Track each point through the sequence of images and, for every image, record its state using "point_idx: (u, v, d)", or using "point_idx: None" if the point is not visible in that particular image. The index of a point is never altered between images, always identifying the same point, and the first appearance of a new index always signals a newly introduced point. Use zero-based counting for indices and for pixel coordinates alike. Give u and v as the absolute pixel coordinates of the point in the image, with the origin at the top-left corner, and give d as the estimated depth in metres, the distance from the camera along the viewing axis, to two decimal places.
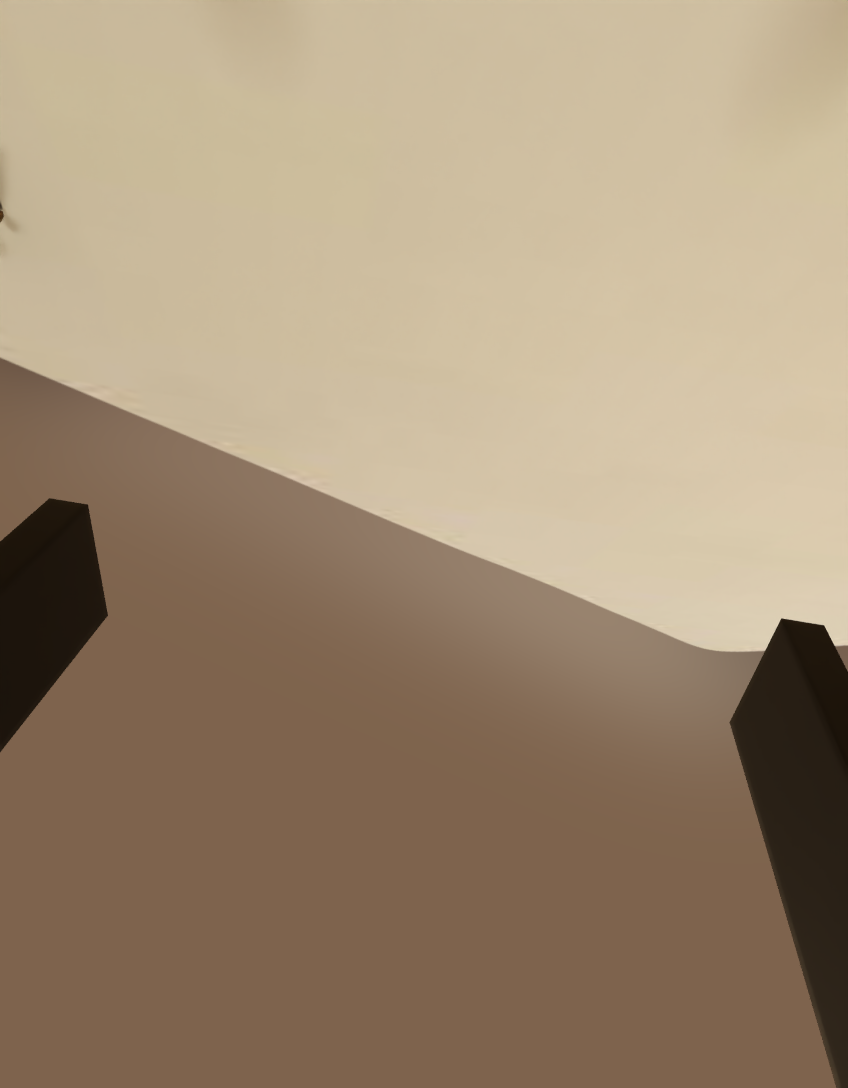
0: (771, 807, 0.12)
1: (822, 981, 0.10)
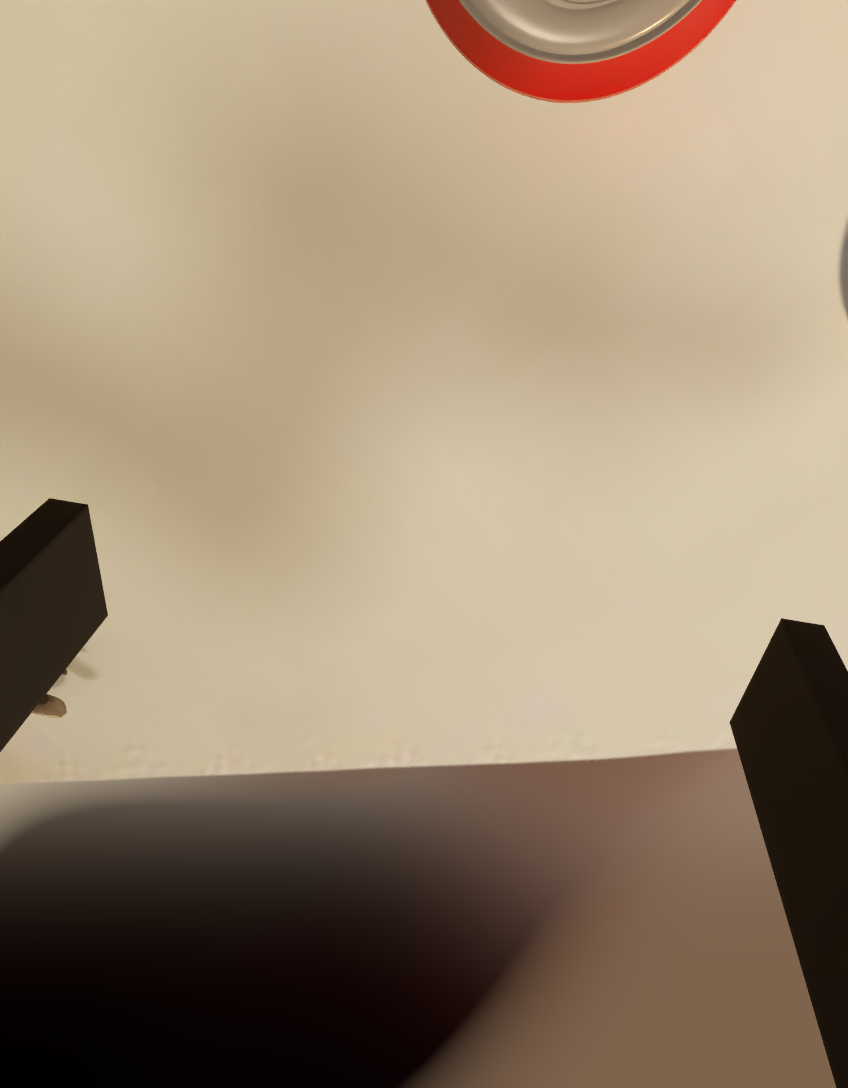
0: (771, 807, 0.12)
1: (822, 981, 0.10)
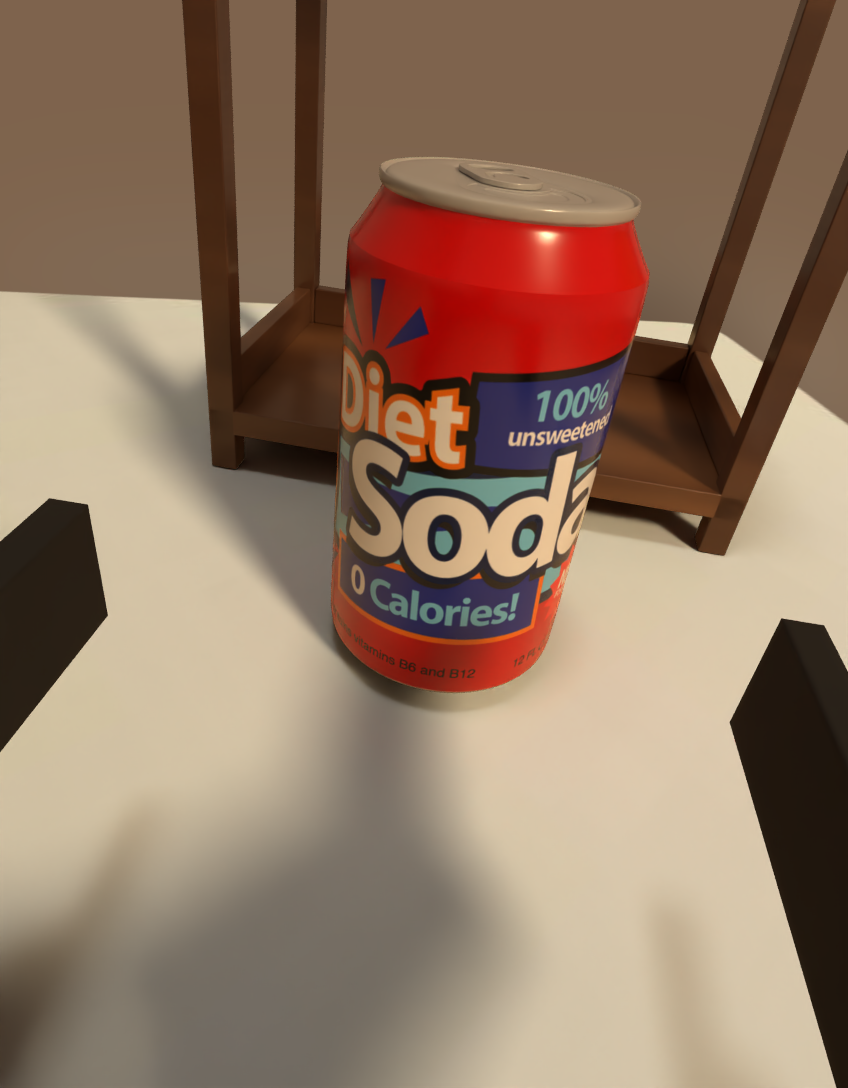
0: (772, 807, 0.12)
1: (822, 981, 0.10)
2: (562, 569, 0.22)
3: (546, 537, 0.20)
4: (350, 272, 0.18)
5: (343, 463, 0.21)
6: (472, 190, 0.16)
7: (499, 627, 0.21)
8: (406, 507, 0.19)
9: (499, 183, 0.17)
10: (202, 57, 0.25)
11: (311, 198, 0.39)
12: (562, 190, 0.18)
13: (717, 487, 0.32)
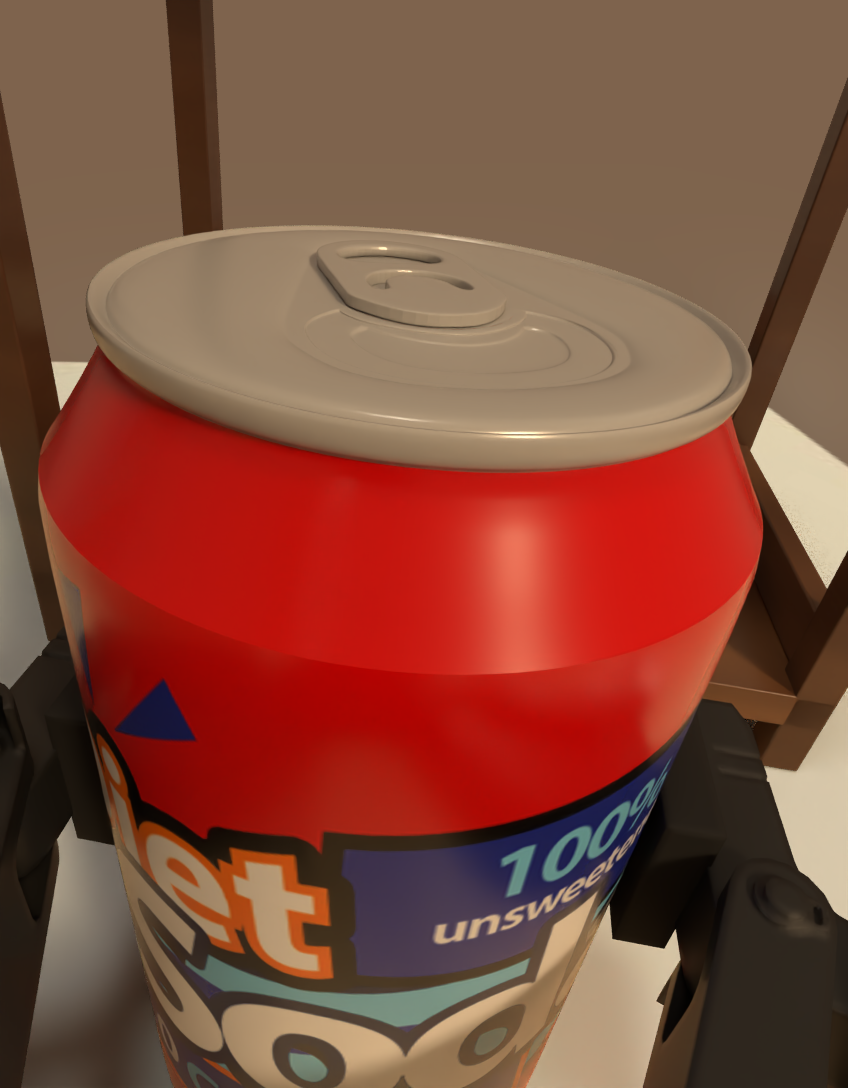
0: None
1: None
2: None
3: (532, 1016, 0.10)
4: None
5: None
6: (308, 348, 0.06)
7: None
8: (220, 1004, 0.09)
9: (393, 313, 0.07)
10: None
11: None
12: (552, 315, 0.08)
13: (787, 679, 0.21)
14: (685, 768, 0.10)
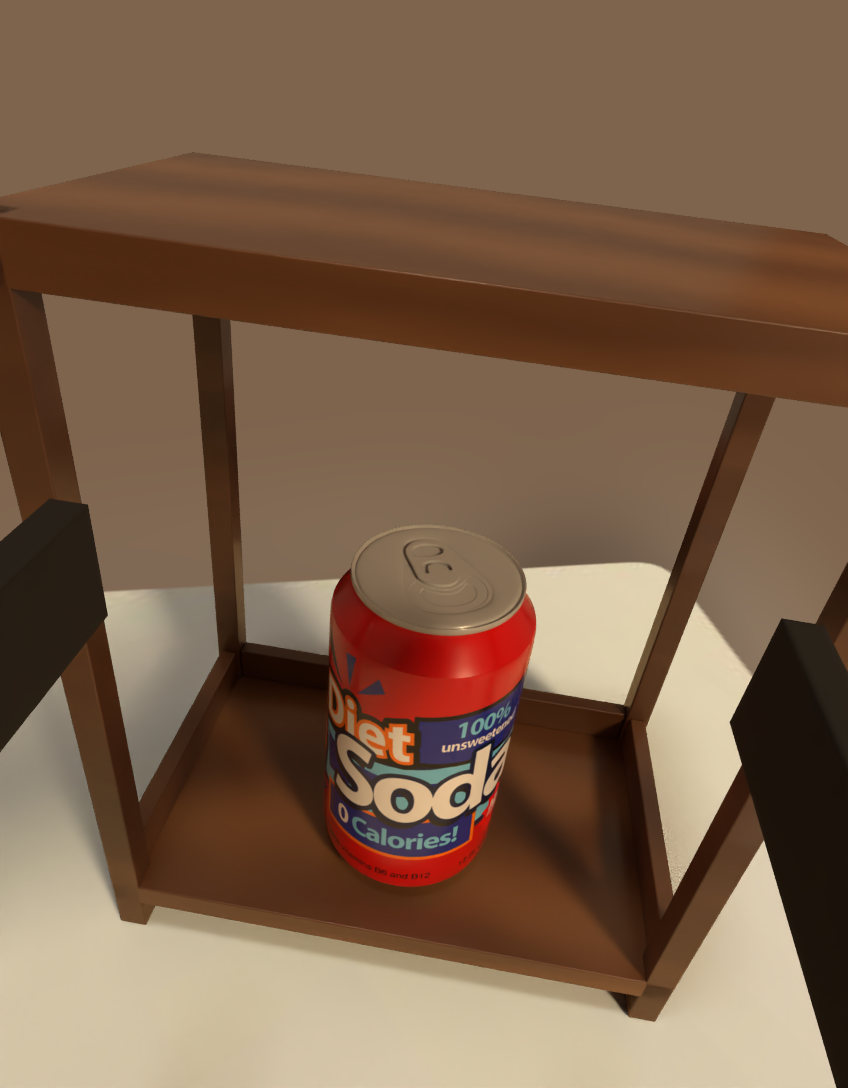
0: (771, 807, 0.12)
1: (822, 981, 0.10)
2: (490, 800, 0.30)
3: (474, 792, 0.29)
4: (332, 634, 0.27)
5: (331, 737, 0.29)
6: (411, 600, 0.25)
7: (445, 847, 0.30)
8: (375, 781, 0.28)
9: (430, 584, 0.26)
10: None
11: (230, 584, 0.38)
12: (474, 576, 0.27)
13: (643, 964, 0.30)
14: None
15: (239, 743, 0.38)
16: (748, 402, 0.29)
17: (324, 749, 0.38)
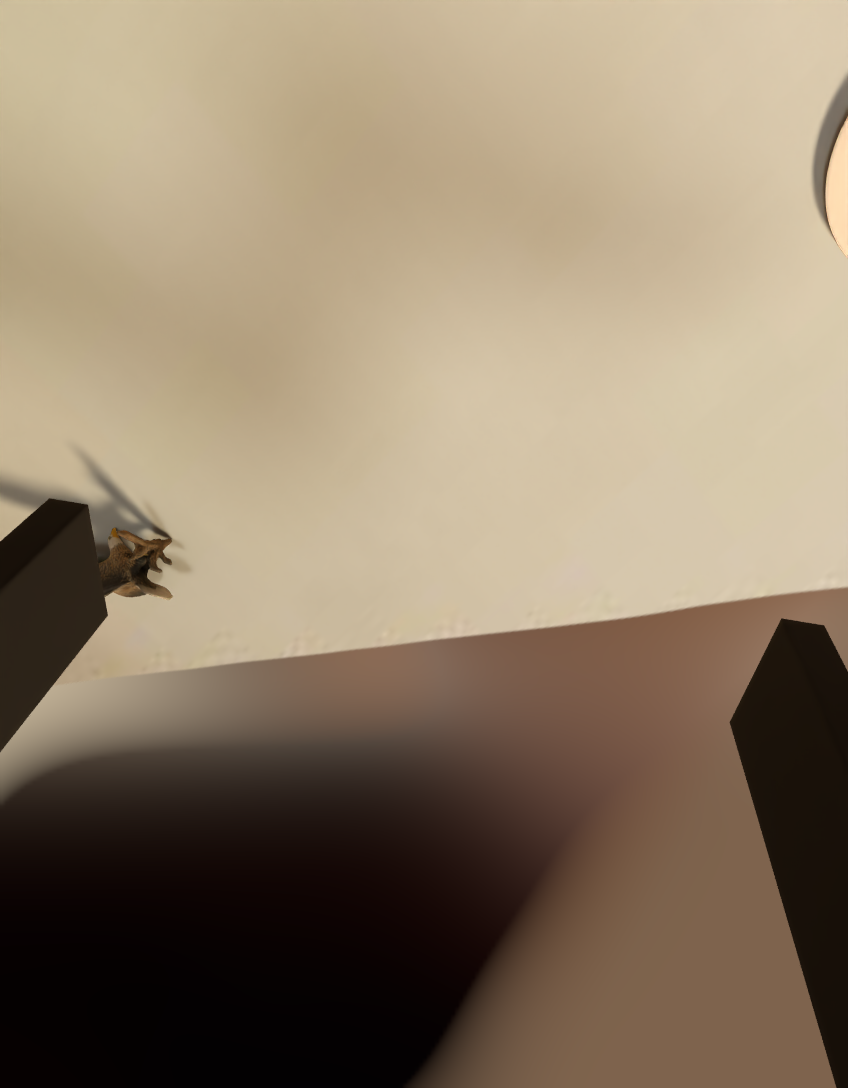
0: (772, 807, 0.12)
1: (822, 981, 0.10)
2: None
3: None
4: None
5: None
6: None
7: None
8: None
9: None
10: None
11: None
12: None
13: None
14: None
15: None
16: None
17: None
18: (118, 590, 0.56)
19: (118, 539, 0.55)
